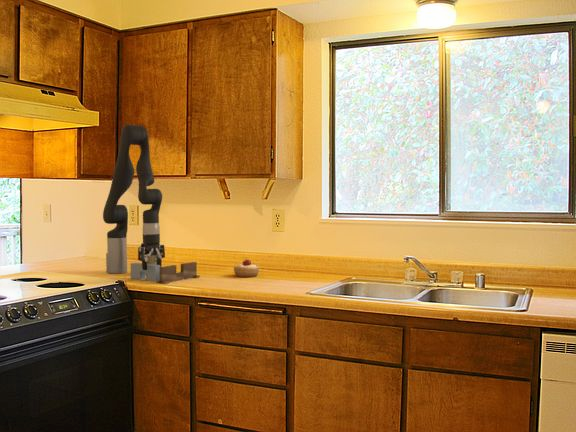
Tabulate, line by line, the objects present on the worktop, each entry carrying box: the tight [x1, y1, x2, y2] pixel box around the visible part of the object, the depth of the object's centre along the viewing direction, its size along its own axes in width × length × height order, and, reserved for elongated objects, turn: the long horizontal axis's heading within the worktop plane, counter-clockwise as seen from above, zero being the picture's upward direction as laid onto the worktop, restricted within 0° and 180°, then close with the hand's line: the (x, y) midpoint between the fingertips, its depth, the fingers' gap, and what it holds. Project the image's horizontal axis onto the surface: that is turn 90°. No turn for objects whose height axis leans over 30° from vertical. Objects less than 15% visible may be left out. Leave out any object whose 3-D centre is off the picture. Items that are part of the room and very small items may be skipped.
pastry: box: [233, 257, 260, 278], centre depth 293 cm, size 12×12×9 cm
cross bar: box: [130, 262, 160, 282], centre depth 283 cm, size 16×3×7 cm, turn 56°
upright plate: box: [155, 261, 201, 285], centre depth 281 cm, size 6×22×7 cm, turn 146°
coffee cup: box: [140, 242, 161, 276], centre depth 298 cm, size 10×10×15 cm
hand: (152, 268), depth 280 cm, fingers open, 8 cm apart
